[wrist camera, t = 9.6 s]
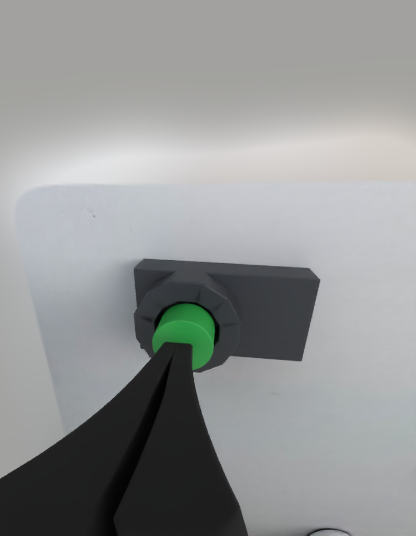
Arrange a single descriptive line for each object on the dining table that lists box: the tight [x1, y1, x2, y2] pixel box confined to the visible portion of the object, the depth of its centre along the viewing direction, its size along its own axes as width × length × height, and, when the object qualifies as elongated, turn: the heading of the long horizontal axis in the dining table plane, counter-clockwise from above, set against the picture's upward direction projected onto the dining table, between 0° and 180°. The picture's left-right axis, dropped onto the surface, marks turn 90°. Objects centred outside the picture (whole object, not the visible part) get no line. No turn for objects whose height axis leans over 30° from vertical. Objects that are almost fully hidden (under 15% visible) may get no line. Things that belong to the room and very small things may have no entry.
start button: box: [152, 303, 215, 370], centre depth 13 cm, size 3×3×2 cm
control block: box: [134, 259, 320, 372], centre depth 15 cm, size 11×6×4 cm, turn 88°
